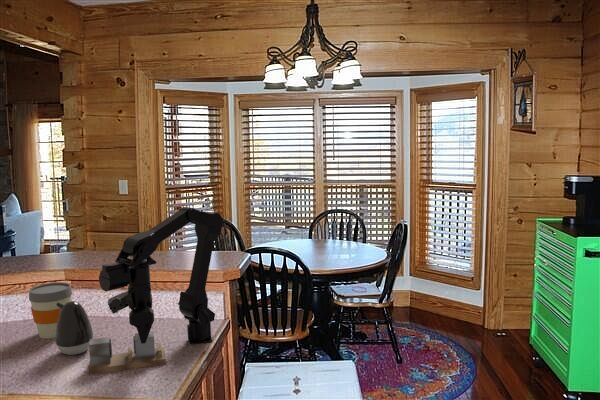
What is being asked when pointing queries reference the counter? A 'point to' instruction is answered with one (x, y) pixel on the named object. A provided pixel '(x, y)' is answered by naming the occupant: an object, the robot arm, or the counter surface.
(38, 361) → the counter surface
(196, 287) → the robot arm
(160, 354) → the rail
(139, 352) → the block
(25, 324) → the counter surface
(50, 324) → the reusable coffee cup
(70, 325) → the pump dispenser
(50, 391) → the counter surface
